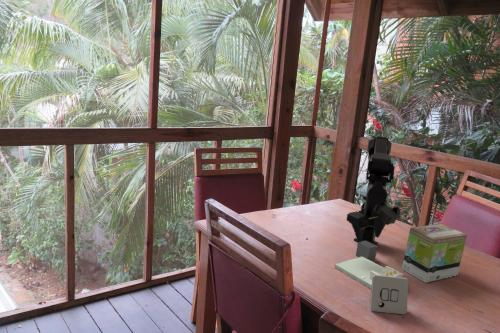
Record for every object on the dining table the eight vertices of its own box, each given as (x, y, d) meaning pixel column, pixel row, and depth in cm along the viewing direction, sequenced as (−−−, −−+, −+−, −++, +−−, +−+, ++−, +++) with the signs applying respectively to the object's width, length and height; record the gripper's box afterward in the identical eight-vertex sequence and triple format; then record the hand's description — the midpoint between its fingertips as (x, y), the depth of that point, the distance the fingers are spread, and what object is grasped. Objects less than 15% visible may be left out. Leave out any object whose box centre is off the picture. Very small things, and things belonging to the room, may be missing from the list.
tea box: (426, 284, 122) (435, 239, 118) (400, 269, 130) (408, 226, 127) (458, 276, 129) (468, 233, 125) (432, 262, 137) (440, 222, 134)
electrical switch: (370, 311, 105) (374, 278, 104) (365, 302, 110) (370, 270, 109) (406, 316, 104) (411, 282, 103) (400, 306, 109) (405, 274, 108)
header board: (334, 267, 128) (336, 254, 127) (361, 259, 135) (363, 247, 134) (378, 293, 114) (380, 279, 113) (405, 283, 122) (408, 269, 120)
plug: (363, 253, 140) (365, 240, 139) (375, 259, 136) (377, 246, 135) (355, 256, 138) (357, 242, 136) (367, 262, 134) (369, 248, 133)
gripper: (377, 206, 120) (369, 254, 124) (413, 199, 131) (405, 243, 134) (348, 195, 129) (342, 240, 133) (385, 189, 140) (378, 231, 143)
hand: (368, 239), depth 135 cm, fingers open, 9 cm apart
